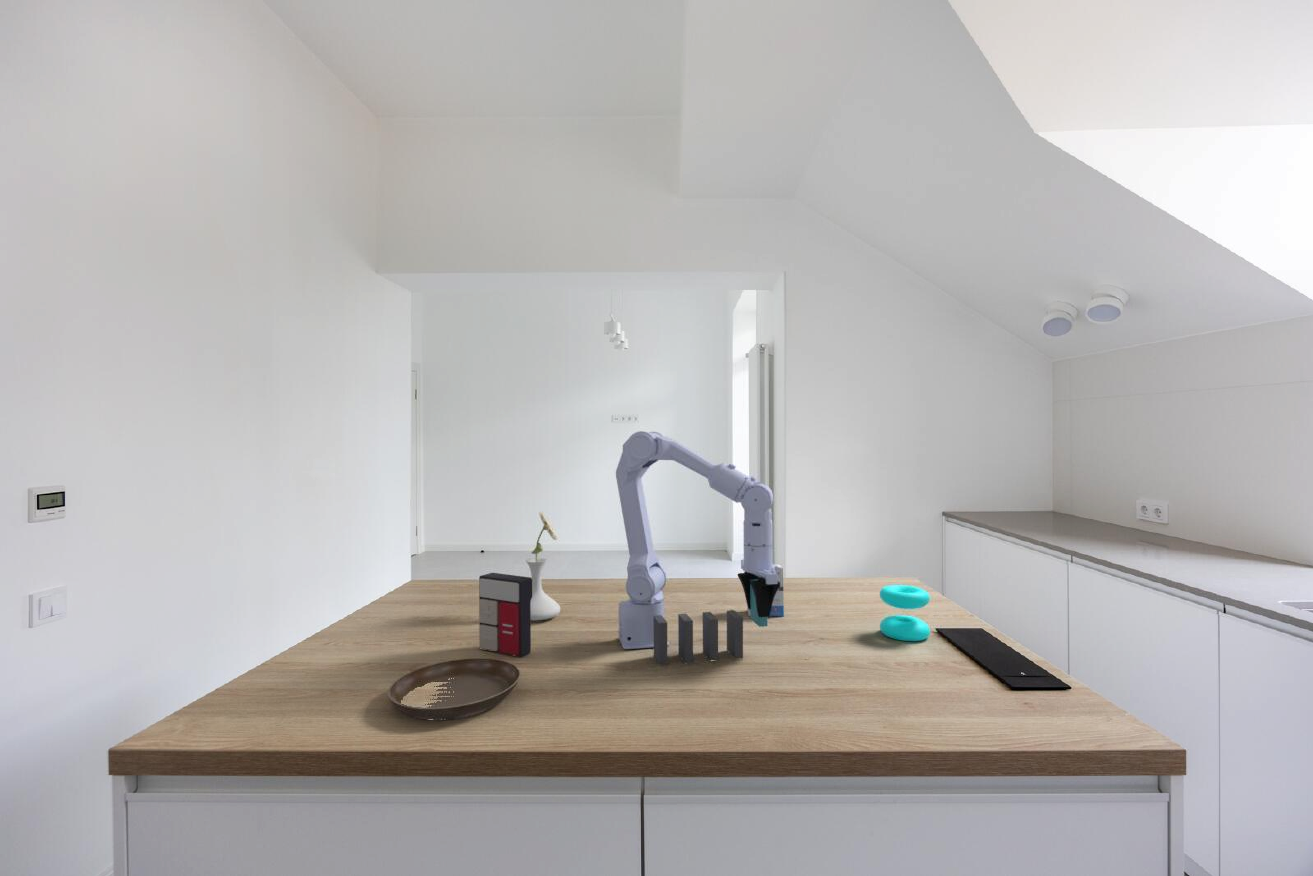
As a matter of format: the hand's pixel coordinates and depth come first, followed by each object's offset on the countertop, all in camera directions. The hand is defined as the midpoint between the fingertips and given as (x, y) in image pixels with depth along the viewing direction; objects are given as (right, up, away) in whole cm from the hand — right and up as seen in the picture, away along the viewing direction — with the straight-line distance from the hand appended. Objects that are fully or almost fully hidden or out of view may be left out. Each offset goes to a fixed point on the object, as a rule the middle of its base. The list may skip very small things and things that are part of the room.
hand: (758, 612), depth 121 cm
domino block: (-10, -8, -2) cm, 13 cm away
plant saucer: (-53, -9, -20) cm, 58 cm away
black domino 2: (-15, -8, -3) cm, 17 cm away
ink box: (+6, -8, +27) cm, 29 cm away
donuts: (+33, -8, +10) cm, 36 cm away
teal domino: (0, -2, 0) cm, 2 cm away
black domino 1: (-20, -8, -4) cm, 22 cm away
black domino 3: (-5, -8, -1) cm, 9 cm away
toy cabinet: (-51, -8, +2) cm, 52 cm away
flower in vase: (-49, -9, +25) cm, 56 cm away
